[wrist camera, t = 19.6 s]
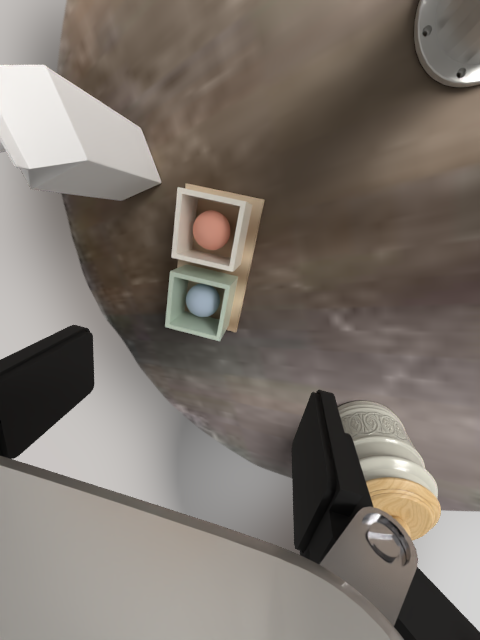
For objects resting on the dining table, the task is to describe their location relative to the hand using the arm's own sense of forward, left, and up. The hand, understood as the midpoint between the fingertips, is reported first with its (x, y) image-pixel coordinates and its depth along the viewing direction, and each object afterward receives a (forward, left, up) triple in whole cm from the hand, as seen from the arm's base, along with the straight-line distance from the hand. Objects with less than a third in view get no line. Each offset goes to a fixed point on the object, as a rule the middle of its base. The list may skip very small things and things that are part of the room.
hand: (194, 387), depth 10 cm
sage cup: (+6, -7, -29) cm, 31 cm away
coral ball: (-4, -7, -29) cm, 30 cm away
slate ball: (+6, -7, -29) cm, 31 cm away
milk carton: (-10, -21, -31) cm, 38 cm away
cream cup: (-4, -7, -29) cm, 30 cm away
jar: (+24, +24, -31) cm, 46 cm away
